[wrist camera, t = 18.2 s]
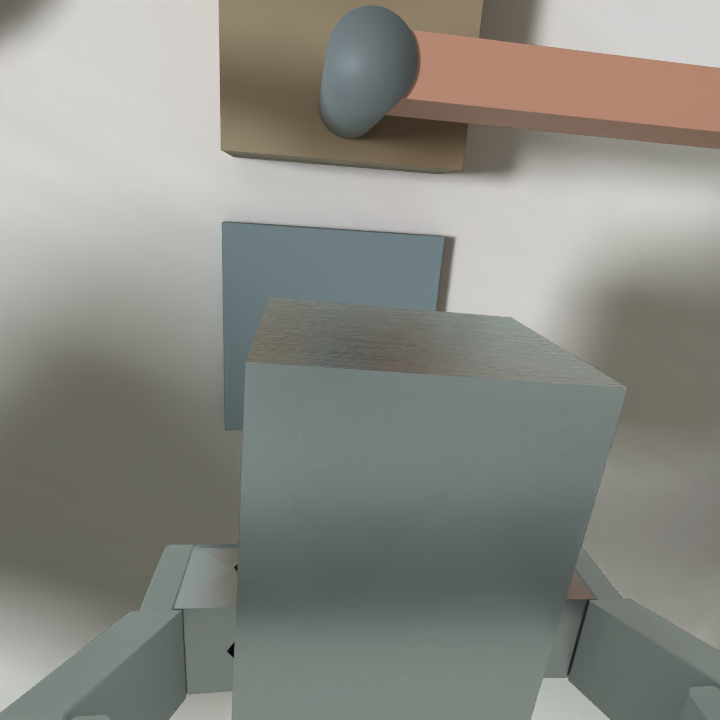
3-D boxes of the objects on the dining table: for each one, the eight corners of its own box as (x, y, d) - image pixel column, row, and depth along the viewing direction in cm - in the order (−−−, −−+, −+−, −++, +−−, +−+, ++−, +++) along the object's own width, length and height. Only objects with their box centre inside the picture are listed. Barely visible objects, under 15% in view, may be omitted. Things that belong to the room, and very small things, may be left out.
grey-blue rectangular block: (437, 675, 13) (488, 864, 10) (249, 678, 13) (225, 880, 9) (510, 317, 10) (628, 387, 7) (269, 296, 10) (245, 362, 6)
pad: (417, 426, 29) (420, 432, 28) (226, 423, 28) (224, 430, 27) (440, 235, 26) (444, 237, 25) (224, 221, 24) (221, 222, 24)
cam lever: (316, 136, 20) (323, 106, 13) (319, 68, 19) (329, -1, 12) (652, 168, 22) (811, 156, 15) (667, 107, 21) (841, 65, 14)
